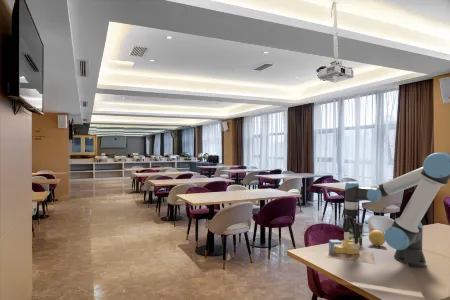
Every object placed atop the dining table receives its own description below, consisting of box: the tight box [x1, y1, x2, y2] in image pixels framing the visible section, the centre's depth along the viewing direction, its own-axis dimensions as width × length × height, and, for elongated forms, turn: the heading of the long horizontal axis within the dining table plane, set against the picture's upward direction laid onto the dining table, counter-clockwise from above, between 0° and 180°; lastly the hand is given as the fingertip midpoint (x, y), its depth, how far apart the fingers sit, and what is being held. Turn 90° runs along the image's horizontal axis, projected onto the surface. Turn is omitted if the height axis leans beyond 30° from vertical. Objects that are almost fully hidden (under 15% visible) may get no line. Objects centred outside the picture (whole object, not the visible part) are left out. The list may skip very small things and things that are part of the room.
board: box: [327, 250, 376, 265], centre depth 177 cm, size 24×20×2 cm
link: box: [334, 239, 361, 254], centre depth 182 cm, size 13×7×6 cm, turn 93°
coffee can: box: [349, 221, 364, 248], centre depth 201 cm, size 10×10×14 cm
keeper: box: [328, 239, 343, 253], centre depth 182 cm, size 6×5×6 cm
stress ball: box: [368, 229, 386, 247], centre depth 200 cm, size 10×10×10 cm
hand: (350, 245), depth 182 cm, fingers open, 10 cm apart
